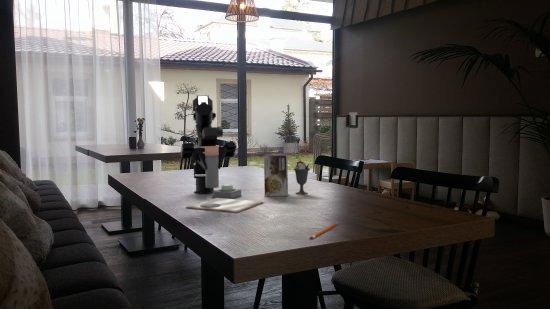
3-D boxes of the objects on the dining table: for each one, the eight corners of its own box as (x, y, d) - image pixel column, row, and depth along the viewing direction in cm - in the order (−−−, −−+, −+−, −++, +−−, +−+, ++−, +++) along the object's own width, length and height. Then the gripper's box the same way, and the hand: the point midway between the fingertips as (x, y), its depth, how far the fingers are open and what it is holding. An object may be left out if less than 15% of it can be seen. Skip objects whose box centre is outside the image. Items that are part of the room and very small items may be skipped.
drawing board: (185, 208, 153) (185, 206, 153) (216, 199, 170) (216, 197, 170) (236, 213, 144) (236, 210, 144) (263, 203, 162) (263, 201, 161)
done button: (219, 192, 174) (219, 185, 174) (225, 190, 178) (225, 184, 178) (229, 192, 172) (229, 186, 172) (234, 191, 176) (234, 184, 176)
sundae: (290, 193, 183) (290, 156, 182) (304, 191, 186) (304, 155, 185) (298, 195, 177) (297, 157, 176) (312, 194, 180) (312, 156, 179)
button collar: (213, 197, 174) (212, 191, 173) (223, 194, 181) (223, 188, 181) (230, 198, 170) (230, 192, 170) (241, 195, 177) (241, 189, 177)
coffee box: (288, 193, 181) (288, 153, 180) (287, 196, 175) (287, 155, 174) (265, 193, 182) (265, 153, 181) (263, 196, 176) (263, 155, 175)
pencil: (309, 240, 113) (309, 236, 113) (336, 224, 129) (336, 221, 129) (312, 240, 112) (312, 237, 112) (339, 224, 129) (339, 221, 129)
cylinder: (202, 187, 153) (201, 146, 152) (212, 185, 157) (211, 145, 156) (212, 188, 150) (211, 146, 149) (221, 186, 154) (221, 146, 153)
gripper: (181, 119, 152) (187, 154, 143) (234, 118, 159) (244, 152, 149) (178, 141, 160) (184, 175, 151) (229, 140, 167) (237, 173, 157)
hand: (212, 168), depth 152 cm, fingers closed on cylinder, 4 cm apart
